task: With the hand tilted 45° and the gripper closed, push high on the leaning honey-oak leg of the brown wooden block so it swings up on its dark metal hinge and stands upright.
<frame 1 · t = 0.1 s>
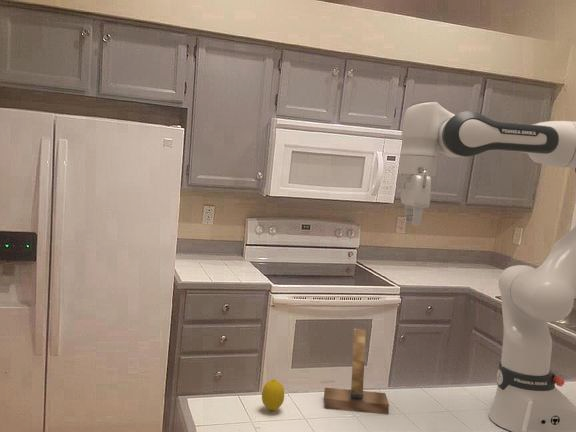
hand: (412, 224, 129), 48 cm above the counter, tool pointing down, fingers open, 8 cm apart
folding leg: (358, 362, 135), point 11 cm above the counter, hinge at 20.0°
brown wooden block: (355, 405, 135), on the counter
lemon: (271, 411, 129), on the counter
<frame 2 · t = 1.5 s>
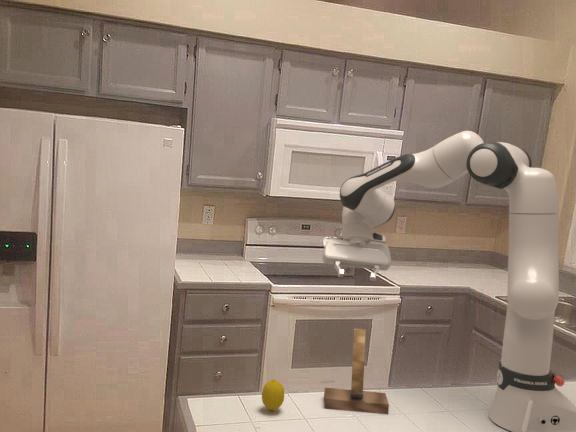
hand: (356, 277, 152), 30 cm above the counter, tool tilted 45°, fingers open, 8 cm apart
nothing on the counter moved.
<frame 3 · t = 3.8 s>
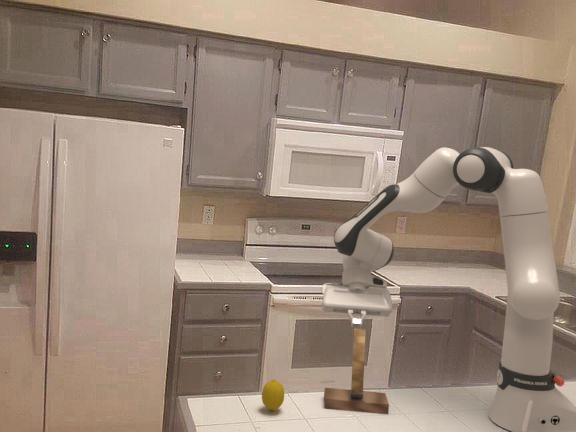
hand: (356, 326, 148), 17 cm above the counter, tool tilted 45°, fingers closed
nothing on the counter moved.
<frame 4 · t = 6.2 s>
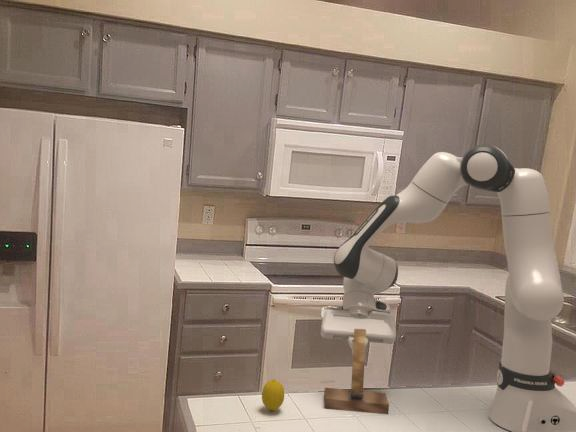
hand: (357, 354, 137), 12 cm above the counter, tool tilted 45°, fingers closed, pressing on folding leg
folding leg: (358, 362, 135), point 11 cm above the counter, hinge at 17.5°, touching gripper
everything else where it was.
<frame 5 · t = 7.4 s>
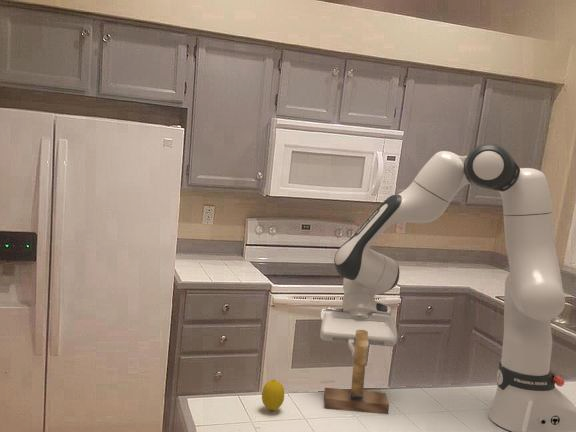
hand: (358, 357, 135), 12 cm above the counter, tool tilted 45°, fingers closed, pressing on folding leg
folding leg: (359, 364, 133), point 11 cm above the counter, hinge at 1.6°, touching gripper
everything else where it was.
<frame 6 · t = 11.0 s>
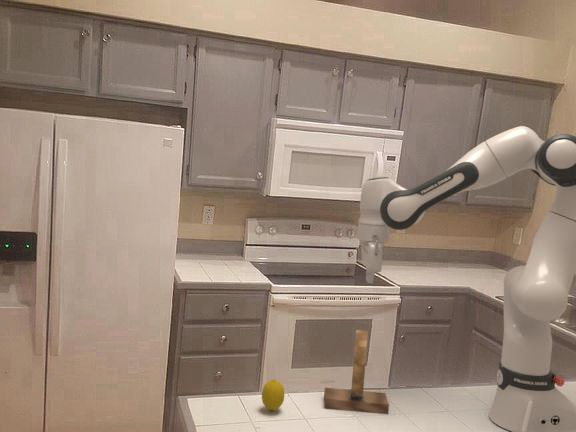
hand: (369, 282, 149), 29 cm above the counter, tool pointing down, fingers closed
folding leg: (359, 364, 133), point 11 cm above the counter, hinge at 1.4°
everything else where it was.
at the end: folding leg at +1° (first picture: +20°); lemon moved 0.2 cm from its start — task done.
